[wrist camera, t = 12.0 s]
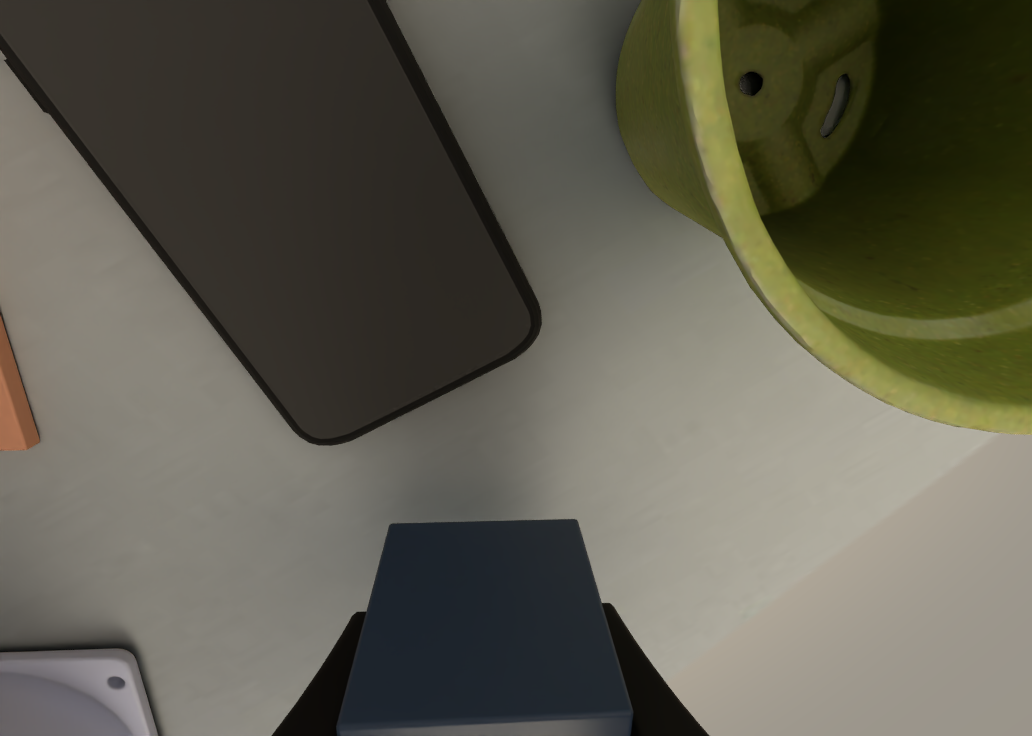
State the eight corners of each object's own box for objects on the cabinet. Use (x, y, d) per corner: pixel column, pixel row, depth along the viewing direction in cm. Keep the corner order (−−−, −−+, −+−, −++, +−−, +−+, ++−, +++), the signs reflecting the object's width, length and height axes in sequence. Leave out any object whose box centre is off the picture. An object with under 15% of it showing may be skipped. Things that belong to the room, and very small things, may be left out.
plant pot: (1011, -119, 11) (2384, -900, 3) (859, 308, 14) (1359, 474, 6) (585, -216, 10) (975, -1698, 2) (519, 264, 13) (580, 393, 5)
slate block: (568, 659, 14) (612, 895, 10) (399, 666, 14) (358, 913, 9) (577, 517, 13) (635, 713, 8) (389, 521, 12) (333, 728, 8)
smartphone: (311, 466, 14) (-214, -212, 9) (320, 448, 15) (-153, -178, 10) (560, 339, 13) (144, -482, 8) (555, 329, 14) (176, -418, 9)
